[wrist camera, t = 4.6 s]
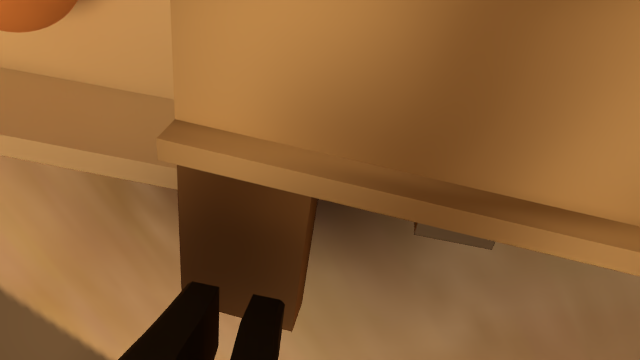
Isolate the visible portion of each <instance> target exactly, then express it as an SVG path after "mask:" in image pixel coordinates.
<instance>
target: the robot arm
mask: <svg viewBox="0 0 640 360" xmlns="http://www.w3.org/2000/svg"><path fill="white" fill-rule="evenodd" d="M284 309H285V304H284V303H283V302H282V301H281V300H280V299H275V298H270V297H265V296H260V295H256V294H253V295H252V297H251V300H250V302H249V304H248V306H247V308H246V311H245V313H244V315H243V318H242V320H241V322H240V326H239V329H238V333H237V337H236V341H235V344H234V348H233V352H232V355H231V359H230V360H278V356H279V349H280V341H281V333H282V325H283V317H284ZM218 337H219V287H217V286H213V285H208V284H203V283H198V282H193V281H192V282H190V283H188V284H187V285H186V286H185V288H184V289H183V290H182V291H181V293H180V294H179V295H178V296H177V297H176V299H175V300H174V301H173V302H172V303H171V304H170V306H169V307H168V308H167V309H166V310H165V311H164V312H163V313H162V315H161V316H160V317H159V318H158V319H157V320H156V321H155V322H154V323H153V324H152V325H151V326H150V328H149V329H148V330H147V331H146V332H145V333H144V334H143V335H142V336H141V337H140V338H139V339H138V340H137V341H136V342H135V343H134V344H133V345H132V346H131V347H130V348H129V349H128V350H127V351H126V352H125V353H124V354H123V355H122V356H121V357H120V358H119V359H118V360H214V358H215V355H216V352H217V349H218Z"/></svg>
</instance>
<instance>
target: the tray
mask: <svg viewBox="0 0 640 360" xmlns="http://www.w3.org/2000/svg"><path fill="white" fill-rule="evenodd" d="M174 119H175V110H174V85H173V60H172V34H171V9H170V0H78V1H77V2H76V4H75V6H74V7H73V8H72V10H71V11H70V12H69V13H68V14H67V15H66V16H65V17H64V18H62V19H61V20H59V21H58V22H57V23H55V24H53V25H51V26H49V27H46V28H43V29H40V30H36V31H31V32H21V33H17V32H6V31H0V155H1V156H7V157H12V158H17V159H22V160H27V161H32V162H37V163H42V164H47V165H53V166H58V167H63V168H68V169H73V170H78V171H83V172H88V173H94V174H99V175H104V176H109V177H114V178H119V179H124V180H129V181H134V182H140V183H145V184H150V185H155V186H160V187H165V188H170V189H175V190H178V186H177V165H176V164H172V163H168V162H164V161H160V160H158V157H157V141H156V138H157V137H158V136H159V135H160V134H161V133H162V132H163V131H164V130H165V129H166V128H167V127H168V126H169V125H170V124H171V123H172V122H173V121H174Z"/></svg>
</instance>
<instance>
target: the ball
mask: <svg viewBox="0 0 640 360" xmlns="http://www.w3.org/2000/svg"><path fill="white" fill-rule="evenodd" d="M77 1H78V0H0V31H6V32H17V33H21V32H31V31H36V30H40V29H43V28H46V27H49V26H51V25H53V24H55V23H57V22H58V21H59V20H61V19H62V18H64V17H65V16H66V15H67V14H68V13H69V12H70V11H71V10H72V8H73V7H74V6H75V4H76V2H77Z"/></svg>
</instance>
